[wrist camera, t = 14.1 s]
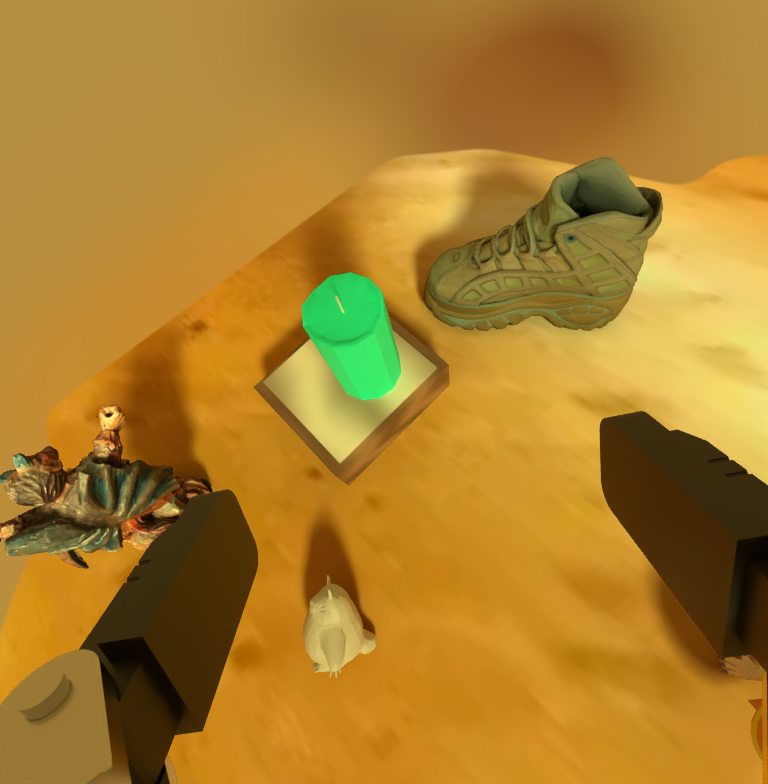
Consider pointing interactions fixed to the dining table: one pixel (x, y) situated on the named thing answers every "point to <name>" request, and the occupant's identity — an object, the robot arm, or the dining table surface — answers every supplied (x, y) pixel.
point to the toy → (750, 672)
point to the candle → (353, 334)
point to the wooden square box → (352, 403)
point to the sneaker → (553, 256)
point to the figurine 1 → (92, 499)
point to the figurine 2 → (334, 630)
